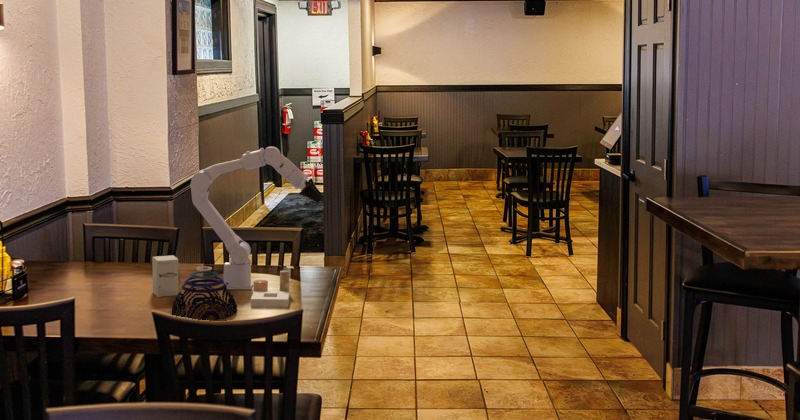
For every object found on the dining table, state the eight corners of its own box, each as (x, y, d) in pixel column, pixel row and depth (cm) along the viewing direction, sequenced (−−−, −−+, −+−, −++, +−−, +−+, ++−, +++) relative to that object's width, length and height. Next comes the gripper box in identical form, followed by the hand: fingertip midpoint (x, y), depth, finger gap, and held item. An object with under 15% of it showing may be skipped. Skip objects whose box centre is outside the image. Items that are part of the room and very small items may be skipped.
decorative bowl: (177, 324, 261) (176, 277, 259) (167, 306, 279) (166, 263, 277) (242, 318, 269) (242, 273, 267) (228, 301, 287) (228, 259, 285)
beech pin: (279, 295, 296) (279, 272, 294) (280, 293, 299) (280, 270, 298) (288, 295, 296) (289, 272, 295) (289, 293, 299) (289, 270, 298)
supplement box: (157, 297, 289) (156, 260, 286) (152, 292, 295) (151, 256, 293) (179, 295, 292) (178, 259, 290) (174, 290, 298) (173, 254, 296)
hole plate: (250, 306, 281) (250, 299, 281) (253, 298, 291) (253, 291, 291) (287, 306, 282) (287, 299, 282) (289, 298, 292) (289, 291, 292)
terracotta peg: (252, 297, 292) (252, 283, 292) (254, 293, 297) (254, 279, 296) (267, 297, 293) (267, 283, 292) (268, 293, 297) (268, 279, 297)
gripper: (298, 167, 292) (327, 194, 294) (300, 162, 306) (328, 188, 308) (284, 182, 293) (313, 209, 295) (286, 176, 307) (315, 202, 309)
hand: (320, 199), depth 302 cm, fingers open, 7 cm apart
